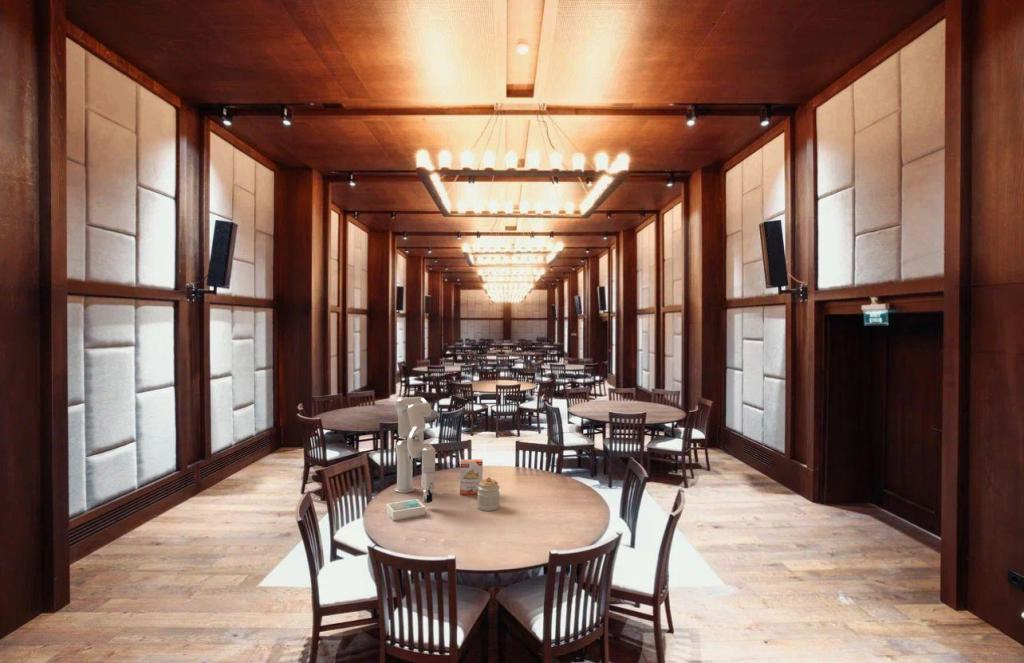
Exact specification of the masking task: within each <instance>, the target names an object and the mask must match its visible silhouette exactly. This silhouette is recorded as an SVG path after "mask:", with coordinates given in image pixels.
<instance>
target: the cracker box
mask: <svg viewBox="0 0 1024 663" xmlns="http://www.w3.org/2000/svg"><path fill="white" fill-rule="evenodd" d="M459 464H460V465H459V467H460V468H459V474H460V475H459V495H466V496H468V495H478V494H477V492H478V488H477V487H478V486H479V482H481V481H482V480H483V465H484V464H483V459H482V458H481V459H480V458H479V459H471V458H470V459H460V460H459Z"/></svg>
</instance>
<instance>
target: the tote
mask: <svg viewBox="0 0 1024 663" xmlns="http://www.w3.org/2000/svg"><path fill="white" fill-rule="evenodd" d="M414 500H416V501H417V502H418V507H416V508H410V509H407V502H408V501H414ZM385 514H387V516H388V515H389V516H388V517H389V518H390V520H392V522H396V521H401V520H407V519H408V520H409V519H413V518H419V517H424V516H426V506H425V505H424V504H423V503H422V502H421V501H420V500H419V499H418V498H414V499H410V500H409V499H408V500H401V501H397V502H396V501H394V502H391V503H390V502H388V503H386V504H385Z"/></svg>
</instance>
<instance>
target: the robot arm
mask: <svg viewBox="0 0 1024 663" xmlns="http://www.w3.org/2000/svg"><path fill="white" fill-rule="evenodd" d="M395 410H396V413H397V422H398V425H397V432H398V436H399V438H400V439H402V440H400V441H397V443H396V444H395V452H396V471H397V472H396V487H394V492H396V493H400V494H402V493H404V494H405V493H411V492H414V491H415V489H416V488H415V486H414V485H413V460H412V459H418V458H419V459H420V458H421V477H420V478H421V479H420V480H421V481H420V482H421V483H420V486H421V488H422V489H423V494H422V496H423V495H424V489H425V490H426V491H427V502H431V503H432V502H433V494H434V489H435V472H436V449H435V447H434V446H433V445H432V444H431V443H427V442H426V443H424V442H425V440H424V437H425V436H424V432H425V431H424V430H425V429H426V423H425V419H424V418H425V417H430V416H431V414H432V407H431V404H430V403H429V401H428V400H426V398H424V397H423V396H411V397H410V396H409V397H408V396H407V397H400V398H397V400H396V402H395ZM411 458H412V459H411ZM429 488H430V489H429ZM429 491H430V492H429Z"/></svg>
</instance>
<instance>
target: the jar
mask: <svg viewBox="0 0 1024 663" xmlns="http://www.w3.org/2000/svg"><path fill="white" fill-rule="evenodd" d="M500 487H501V486H500V485H499V482H498V481H497V480H496V479H492V478H491V477H490V476H487V477H486V478H484V479H482V481H481V482H479V486H478V487H477V488H478V492H477V494H476V495H477V503H476V506H477V509H478V510H480V511H487V512H491V511H496V510H498V509H499V508H500V505H501V504H500V494H501V492H500V491H499V490H500V489H501V488H500Z"/></svg>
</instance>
